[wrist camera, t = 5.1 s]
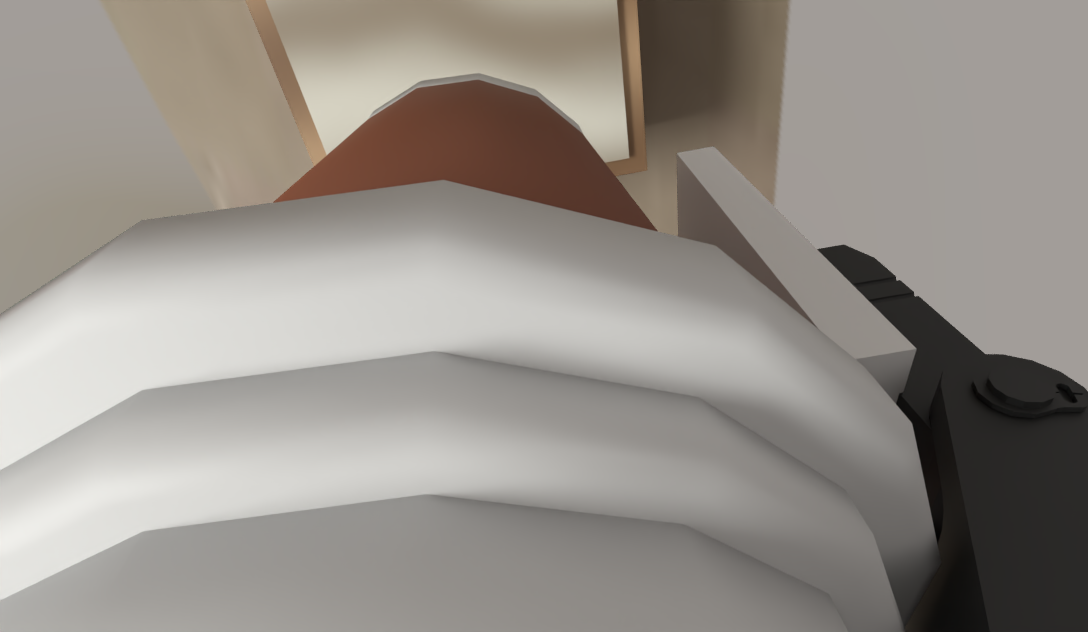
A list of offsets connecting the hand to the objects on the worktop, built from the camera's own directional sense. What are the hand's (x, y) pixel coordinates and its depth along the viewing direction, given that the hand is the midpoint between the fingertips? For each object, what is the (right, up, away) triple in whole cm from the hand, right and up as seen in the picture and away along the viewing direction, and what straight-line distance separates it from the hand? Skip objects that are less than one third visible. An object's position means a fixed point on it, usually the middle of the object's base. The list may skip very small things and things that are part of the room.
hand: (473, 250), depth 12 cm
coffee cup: (0, +1, +2) cm, 2 cm away
